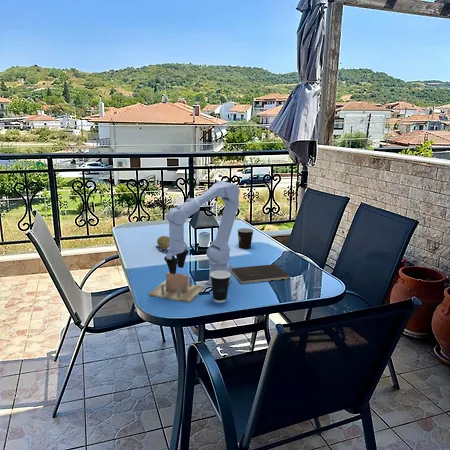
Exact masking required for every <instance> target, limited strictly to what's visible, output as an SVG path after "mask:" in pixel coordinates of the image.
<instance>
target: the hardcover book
mask: <svg viewBox="0 0 450 450" xmlns="http://www.w3.org/2000/svg"><path fill="white" fill-rule="evenodd" d="M232 274H233V276H234V277H235V279H237V280H238V282H240V283H241V284H244V283H245V284H251V283H252V282H254V283H261V282H260V281H264V282H272V281H271V280H274V281H281V279H284V280H289V279H290V278H289V277H290V275H289V274H288V273H287V272H285V270H283V269H282V268H281V267H279V265H277V264H275V263H274V264H263V265H252V266H239V267H232Z"/></svg>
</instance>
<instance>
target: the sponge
mask: <svg viewBox="0 0 450 450" xmlns="http://www.w3.org/2000/svg"><path fill="white" fill-rule="evenodd" d="M156 243H157V246H159V247H160V248H161V249H163V250H164V251H167V252H168V251H169V250H167V248H168V247H169V235H166V236H165V235H160V236H159V237H158V238H157V240H156ZM184 244H186V249H185V250H188V245H187V243H186V242H185V241H184Z"/></svg>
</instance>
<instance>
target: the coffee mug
mask: <svg viewBox="0 0 450 450" xmlns="http://www.w3.org/2000/svg"><path fill="white" fill-rule="evenodd" d="M253 235H254V230H253V229H252V228H250V227H249V228H247V227H241V228H238V229H237V237H238V248H239V249H242V250H249V249H251V247H252V240H253Z"/></svg>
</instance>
